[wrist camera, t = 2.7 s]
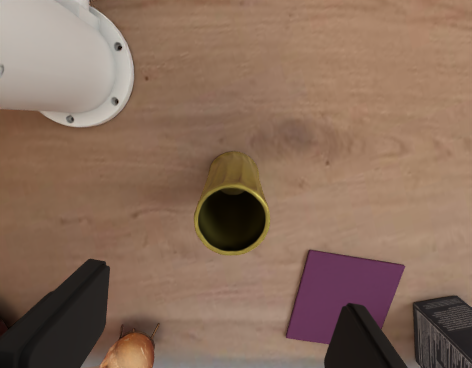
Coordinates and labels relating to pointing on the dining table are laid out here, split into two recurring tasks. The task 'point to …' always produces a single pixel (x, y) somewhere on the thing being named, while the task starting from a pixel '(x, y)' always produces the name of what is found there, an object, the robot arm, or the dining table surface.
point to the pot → (131, 351)
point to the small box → (443, 333)
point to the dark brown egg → (2, 328)
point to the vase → (232, 206)
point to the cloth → (340, 293)
